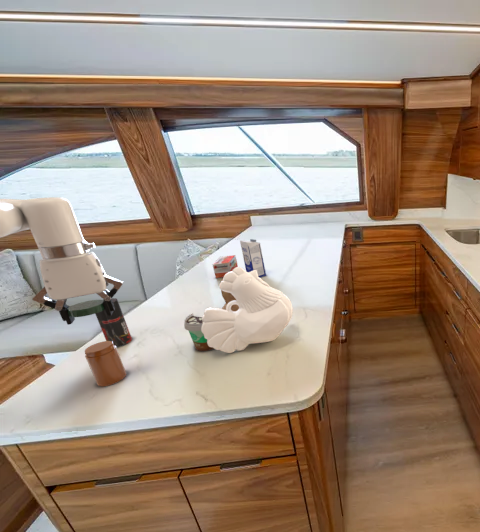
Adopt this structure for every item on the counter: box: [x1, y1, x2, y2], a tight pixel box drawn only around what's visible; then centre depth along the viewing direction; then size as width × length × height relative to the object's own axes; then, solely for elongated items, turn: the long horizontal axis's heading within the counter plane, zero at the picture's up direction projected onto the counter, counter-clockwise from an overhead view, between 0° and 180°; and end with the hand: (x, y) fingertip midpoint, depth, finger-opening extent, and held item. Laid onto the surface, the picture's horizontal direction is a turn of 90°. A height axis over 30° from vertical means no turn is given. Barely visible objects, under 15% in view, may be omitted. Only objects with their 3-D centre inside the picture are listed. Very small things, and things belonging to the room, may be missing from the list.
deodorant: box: [94, 297, 133, 348], centre depth 97 cm, size 6×6×15 cm
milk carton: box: [239, 238, 267, 278], centre depth 154 cm, size 7×7×20 cm
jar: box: [84, 340, 127, 388], centre depth 80 cm, size 6×6×10 cm
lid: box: [67, 299, 105, 318], centre depth 75 cm, size 7×7×2 cm
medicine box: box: [211, 254, 239, 279], centre depth 162 cm, size 15×8×8 cm, turn 16°
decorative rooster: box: [201, 266, 294, 354], centre depth 95 cm, size 25×16×25 cm
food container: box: [183, 313, 215, 352], centre depth 94 cm, size 12×6×10 cm, turn 73°
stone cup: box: [220, 278, 239, 311], centre depth 117 cm, size 15×12×15 cm
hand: (91, 317), depth 76 cm, fingers closed on lid, 6 cm apart
